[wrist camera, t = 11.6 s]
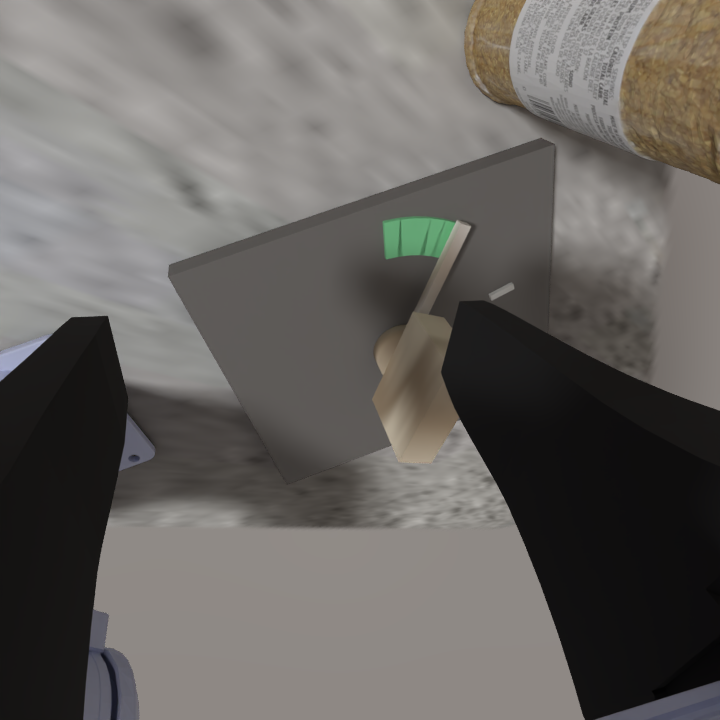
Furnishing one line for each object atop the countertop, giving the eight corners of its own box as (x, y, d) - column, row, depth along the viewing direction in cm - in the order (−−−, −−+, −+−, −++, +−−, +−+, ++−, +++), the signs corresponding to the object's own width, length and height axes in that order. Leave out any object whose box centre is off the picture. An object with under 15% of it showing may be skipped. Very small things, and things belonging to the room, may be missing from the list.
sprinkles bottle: (597, 20, 18) (1138, 71, 8) (508, 128, 19) (857, 292, 9) (527, -90, 15) (1194, -230, 5) (432, 45, 17) (798, 143, 7)
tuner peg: (402, 390, 25) (440, 463, 21) (357, 384, 24) (388, 461, 20) (485, 227, 20) (552, 283, 17) (433, 211, 19) (491, 268, 16)
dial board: (284, 471, 28) (287, 487, 27) (169, 264, 19) (167, 279, 18) (536, 377, 29) (548, 389, 28) (541, 138, 20) (557, 145, 19)
